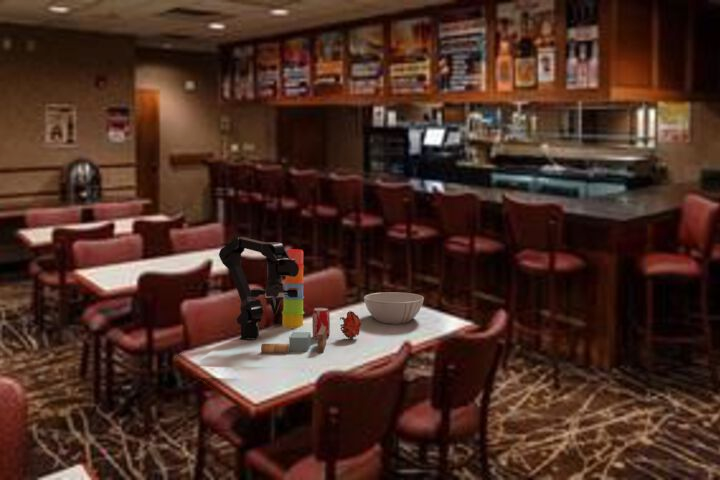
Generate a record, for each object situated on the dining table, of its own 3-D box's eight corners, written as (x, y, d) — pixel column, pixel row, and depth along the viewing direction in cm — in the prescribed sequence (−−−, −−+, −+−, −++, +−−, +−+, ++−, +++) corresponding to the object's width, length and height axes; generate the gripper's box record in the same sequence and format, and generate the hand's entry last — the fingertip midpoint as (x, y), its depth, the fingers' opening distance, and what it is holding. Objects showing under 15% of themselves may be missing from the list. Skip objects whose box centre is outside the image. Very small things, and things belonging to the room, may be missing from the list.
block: (289, 351, 257) (289, 337, 256) (292, 345, 266) (292, 332, 266) (307, 351, 257) (307, 337, 256) (310, 345, 266) (310, 332, 265)
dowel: (261, 342, 254) (263, 345, 257) (260, 351, 252) (262, 354, 256) (288, 342, 253) (289, 345, 257) (287, 352, 252) (288, 354, 255)
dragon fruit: (350, 335, 282) (350, 307, 281) (366, 338, 276) (366, 309, 275) (336, 339, 275) (336, 310, 274) (352, 342, 270) (352, 312, 269)
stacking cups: (287, 325, 301) (286, 248, 298) (308, 327, 297) (307, 249, 294) (276, 330, 292) (275, 250, 288) (297, 332, 288) (297, 251, 285)
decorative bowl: (426, 330, 291) (426, 302, 290) (363, 330, 292) (363, 302, 291) (421, 317, 318) (421, 292, 317) (364, 317, 318) (364, 292, 317)
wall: (317, 352, 254) (317, 334, 254) (321, 343, 268) (321, 326, 267) (323, 352, 254) (322, 334, 253) (326, 343, 268) (326, 326, 267)
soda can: (327, 340, 274) (327, 311, 273) (310, 339, 275) (310, 310, 274) (331, 336, 281) (331, 307, 280) (315, 335, 282) (314, 307, 281)
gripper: (246, 277, 258) (247, 318, 259) (295, 277, 257) (296, 318, 258) (252, 273, 269) (253, 312, 270) (299, 273, 268) (299, 312, 269)
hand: (275, 314), depth 267 cm, fingers closed
